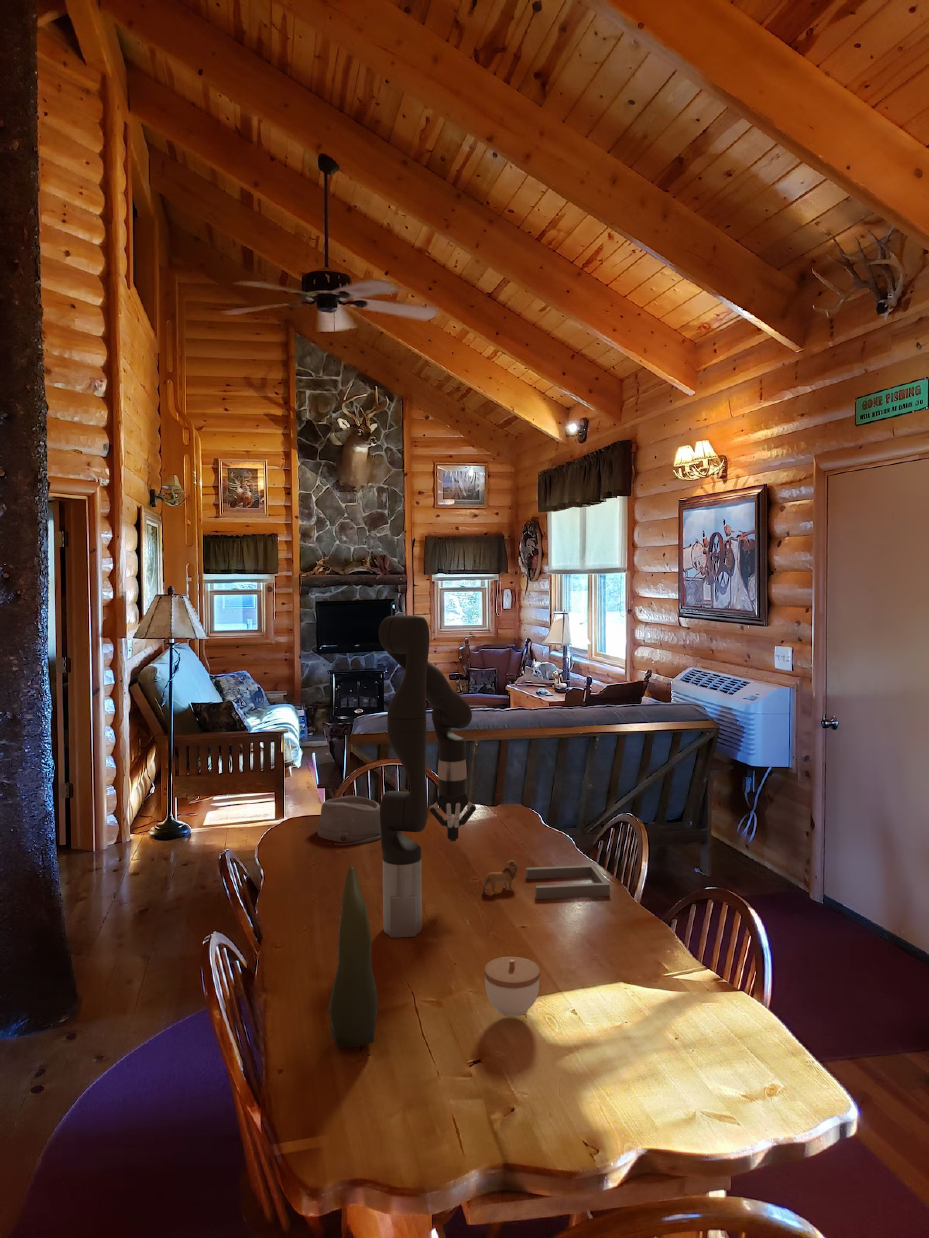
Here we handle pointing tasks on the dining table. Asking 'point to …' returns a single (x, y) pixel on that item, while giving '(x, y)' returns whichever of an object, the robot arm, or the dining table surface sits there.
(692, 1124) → the dining table surface
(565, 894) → the bay
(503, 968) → the lidded jar
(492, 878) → the lion figurine
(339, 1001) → the tentacle
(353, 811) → the fedora
